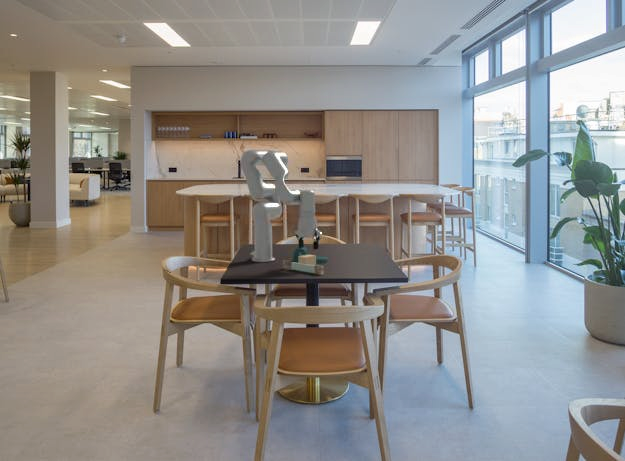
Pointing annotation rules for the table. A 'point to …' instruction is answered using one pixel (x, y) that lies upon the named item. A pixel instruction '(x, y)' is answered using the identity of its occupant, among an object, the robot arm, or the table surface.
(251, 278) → the table surface
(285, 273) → the table surface
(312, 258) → the block
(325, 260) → the bracket
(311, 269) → the sage gate
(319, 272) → the oak fence
